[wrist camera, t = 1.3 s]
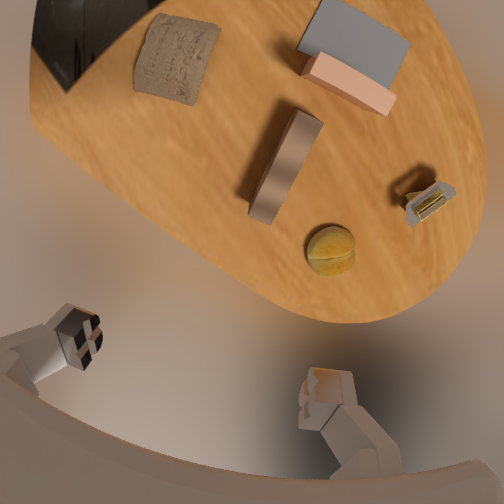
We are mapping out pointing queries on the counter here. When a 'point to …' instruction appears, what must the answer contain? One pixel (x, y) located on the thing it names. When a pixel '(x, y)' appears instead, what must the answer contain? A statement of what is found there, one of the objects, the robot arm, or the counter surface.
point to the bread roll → (331, 251)
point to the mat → (355, 41)
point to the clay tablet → (174, 58)
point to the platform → (427, 201)
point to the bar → (284, 166)
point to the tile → (348, 84)
